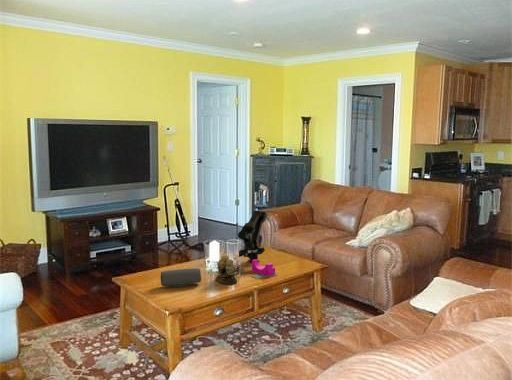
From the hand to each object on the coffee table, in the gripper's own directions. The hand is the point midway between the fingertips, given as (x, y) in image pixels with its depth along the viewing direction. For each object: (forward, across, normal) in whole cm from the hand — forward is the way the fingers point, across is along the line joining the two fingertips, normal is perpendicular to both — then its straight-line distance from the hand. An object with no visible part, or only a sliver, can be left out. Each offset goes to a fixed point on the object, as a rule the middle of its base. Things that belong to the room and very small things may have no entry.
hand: (254, 263), depth 297 cm
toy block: (+8, -2, +2) cm, 9 cm away
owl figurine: (+11, +26, +4) cm, 28 cm away
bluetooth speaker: (+8, +54, 0) cm, 54 cm away
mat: (+11, 0, +6) cm, 13 cm away
